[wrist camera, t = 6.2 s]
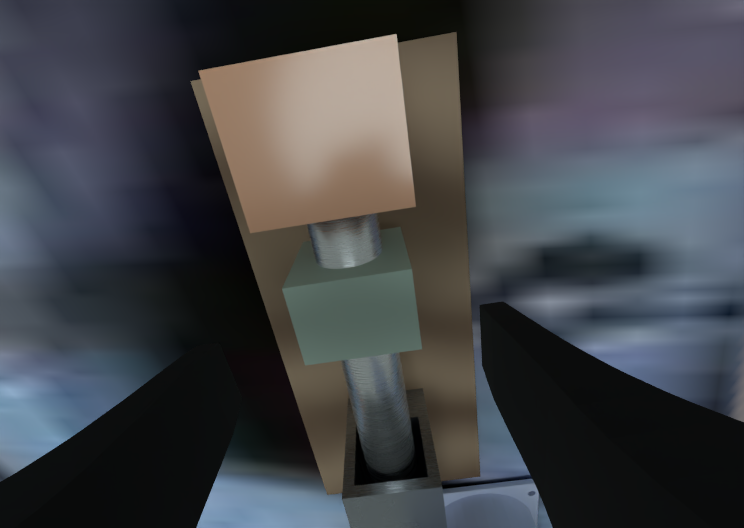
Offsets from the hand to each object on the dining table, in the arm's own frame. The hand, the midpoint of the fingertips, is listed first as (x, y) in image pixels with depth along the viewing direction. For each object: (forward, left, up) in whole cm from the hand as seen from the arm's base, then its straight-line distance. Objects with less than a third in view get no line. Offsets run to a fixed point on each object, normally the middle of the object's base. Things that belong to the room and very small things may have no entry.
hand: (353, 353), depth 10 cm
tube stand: (-5, 0, -8) cm, 9 cm away
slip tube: (-1, 0, -6) cm, 6 cm away
